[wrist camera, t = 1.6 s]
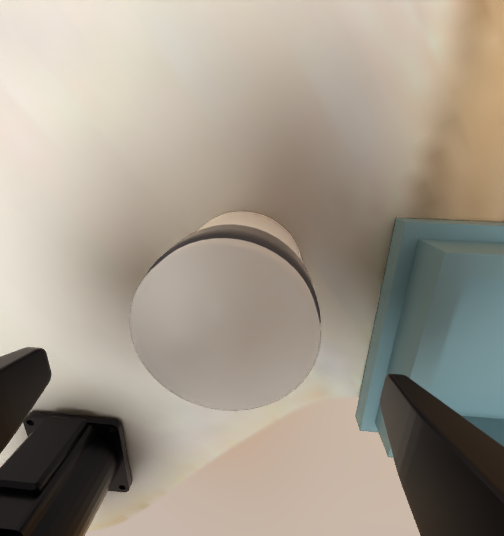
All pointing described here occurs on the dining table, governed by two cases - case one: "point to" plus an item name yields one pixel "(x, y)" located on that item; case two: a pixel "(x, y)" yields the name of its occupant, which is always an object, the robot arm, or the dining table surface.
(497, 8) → the dining table surface
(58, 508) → the robot arm
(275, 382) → the lens
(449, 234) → the square tray
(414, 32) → the dining table surface
